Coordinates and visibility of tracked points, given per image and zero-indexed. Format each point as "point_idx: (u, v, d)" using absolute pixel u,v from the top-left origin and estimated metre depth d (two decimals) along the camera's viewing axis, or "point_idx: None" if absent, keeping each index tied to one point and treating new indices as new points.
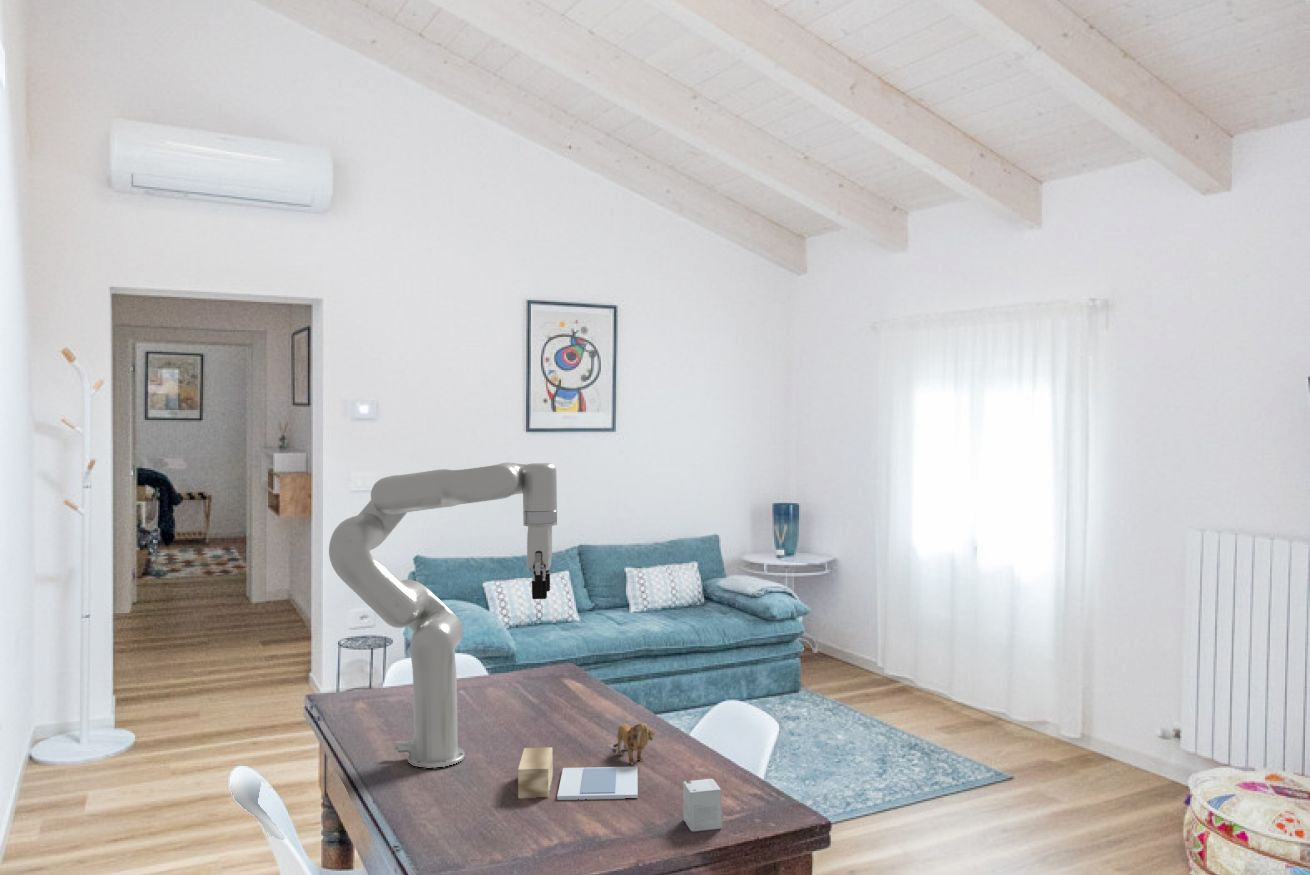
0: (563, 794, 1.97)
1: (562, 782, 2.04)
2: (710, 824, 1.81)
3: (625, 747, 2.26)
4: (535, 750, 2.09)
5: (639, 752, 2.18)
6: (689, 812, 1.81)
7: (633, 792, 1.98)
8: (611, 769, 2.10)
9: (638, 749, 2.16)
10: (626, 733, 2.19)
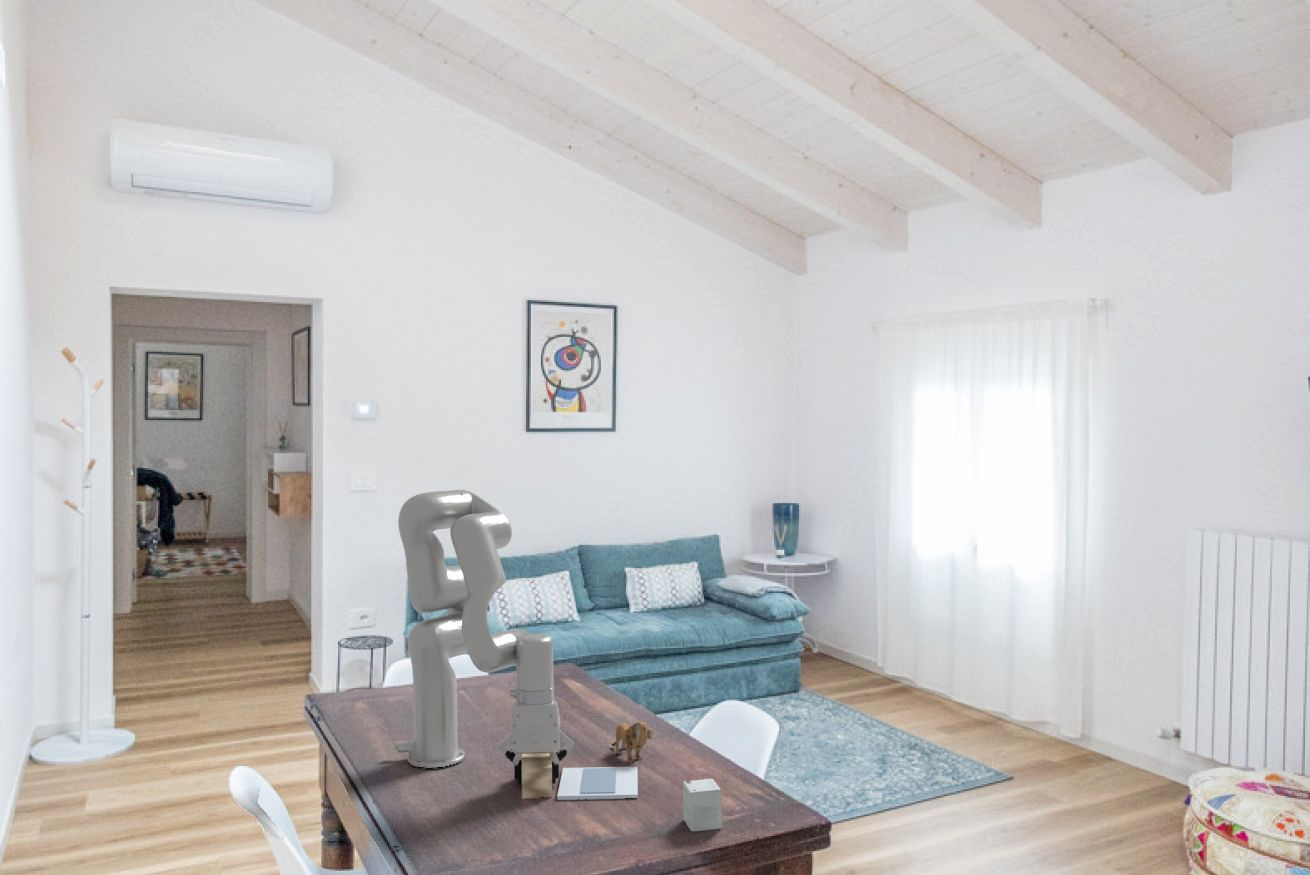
0: (563, 794, 1.97)
1: (562, 782, 2.04)
2: (710, 824, 1.81)
3: (623, 746, 2.27)
4: None
5: (638, 751, 2.19)
6: (689, 812, 1.81)
7: (633, 792, 1.98)
8: (611, 769, 2.10)
9: (637, 748, 2.17)
10: (625, 732, 2.20)
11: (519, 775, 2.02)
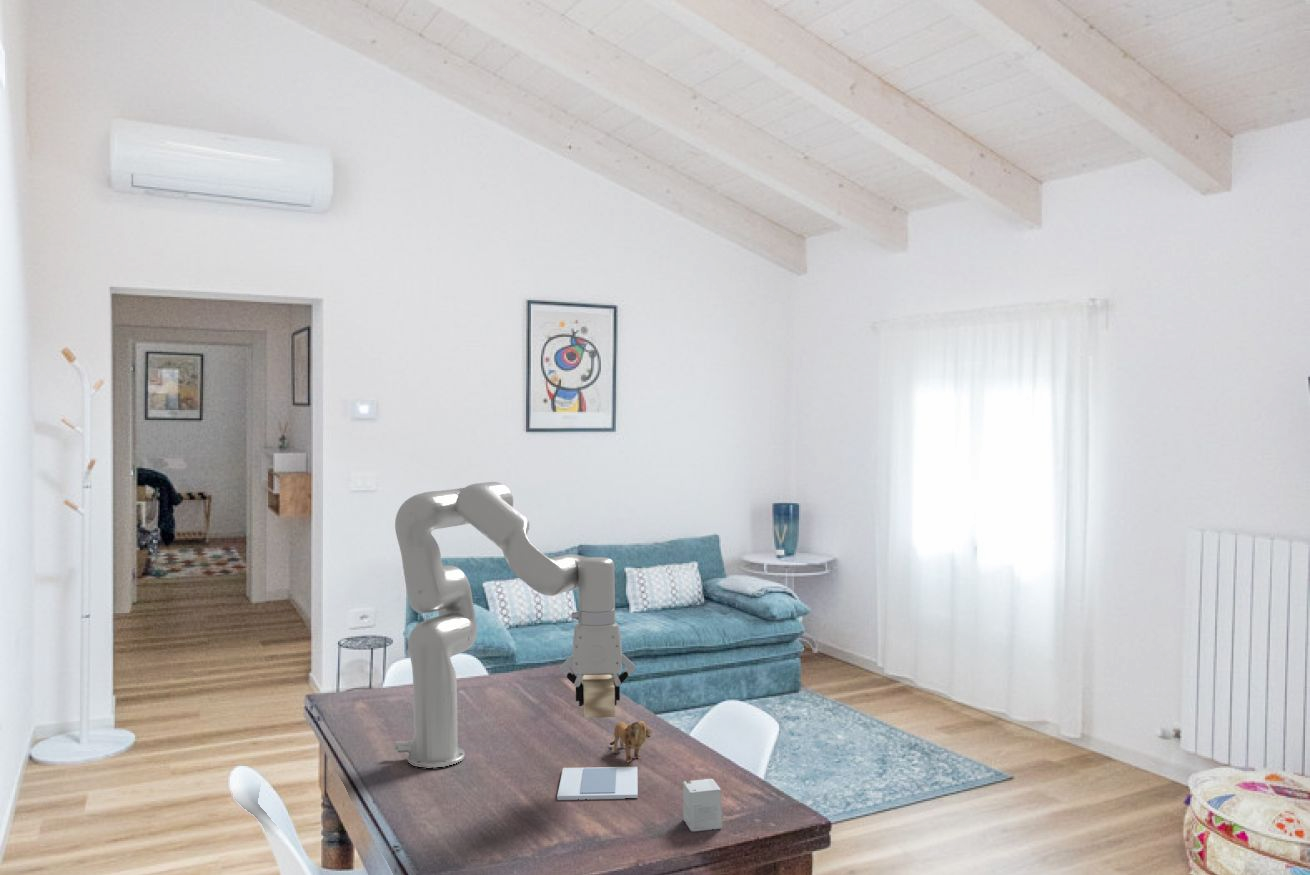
0: (563, 794, 1.97)
1: (562, 782, 2.04)
2: (710, 824, 1.81)
3: (621, 745, 2.27)
4: None
5: (636, 750, 2.20)
6: (689, 812, 1.81)
7: (633, 792, 1.98)
8: (611, 769, 2.10)
9: (636, 747, 2.17)
10: (623, 731, 2.21)
11: (581, 697, 2.02)
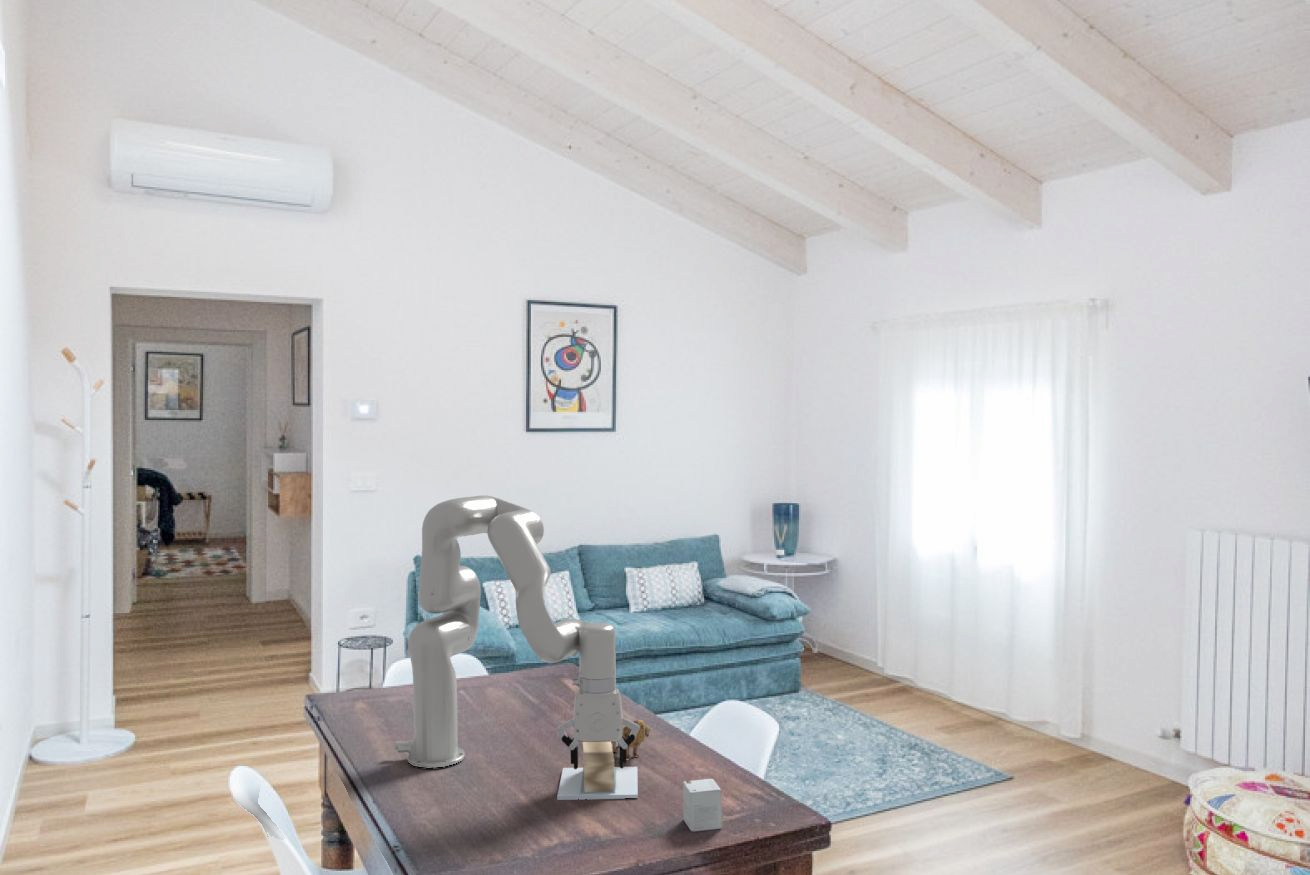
0: (563, 794, 1.97)
1: (562, 782, 2.04)
2: (710, 824, 1.81)
3: None
4: (594, 743, 2.09)
5: (635, 748, 2.21)
6: (689, 812, 1.81)
7: (633, 792, 1.98)
8: None
9: (635, 745, 2.18)
10: None
11: (575, 760, 2.03)
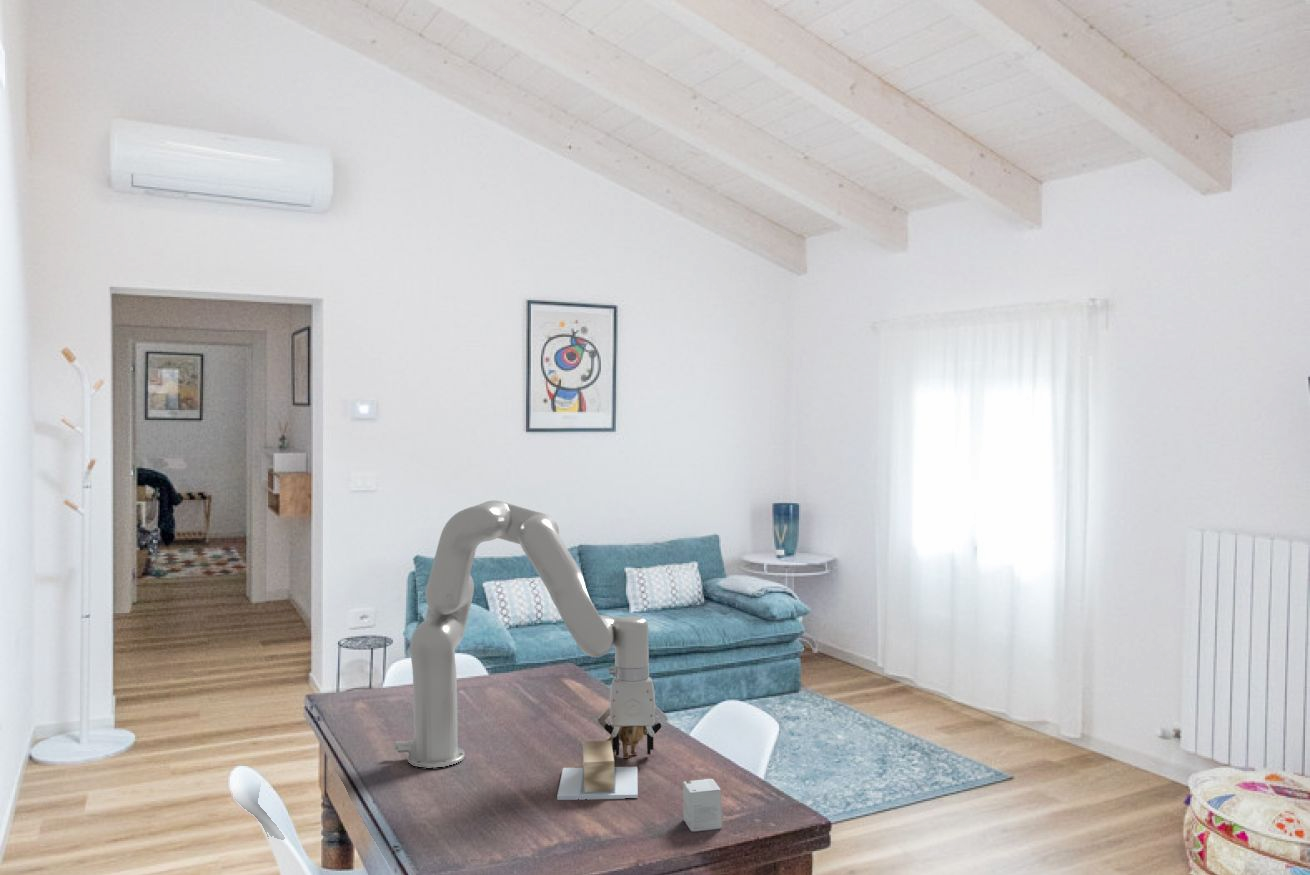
0: (563, 794, 1.97)
1: (562, 782, 2.04)
2: (710, 824, 1.81)
3: None
4: (594, 743, 2.09)
5: (633, 747, 2.22)
6: (689, 812, 1.81)
7: (633, 792, 1.98)
8: None
9: (633, 744, 2.19)
10: (620, 728, 2.23)
11: (617, 746, 2.19)
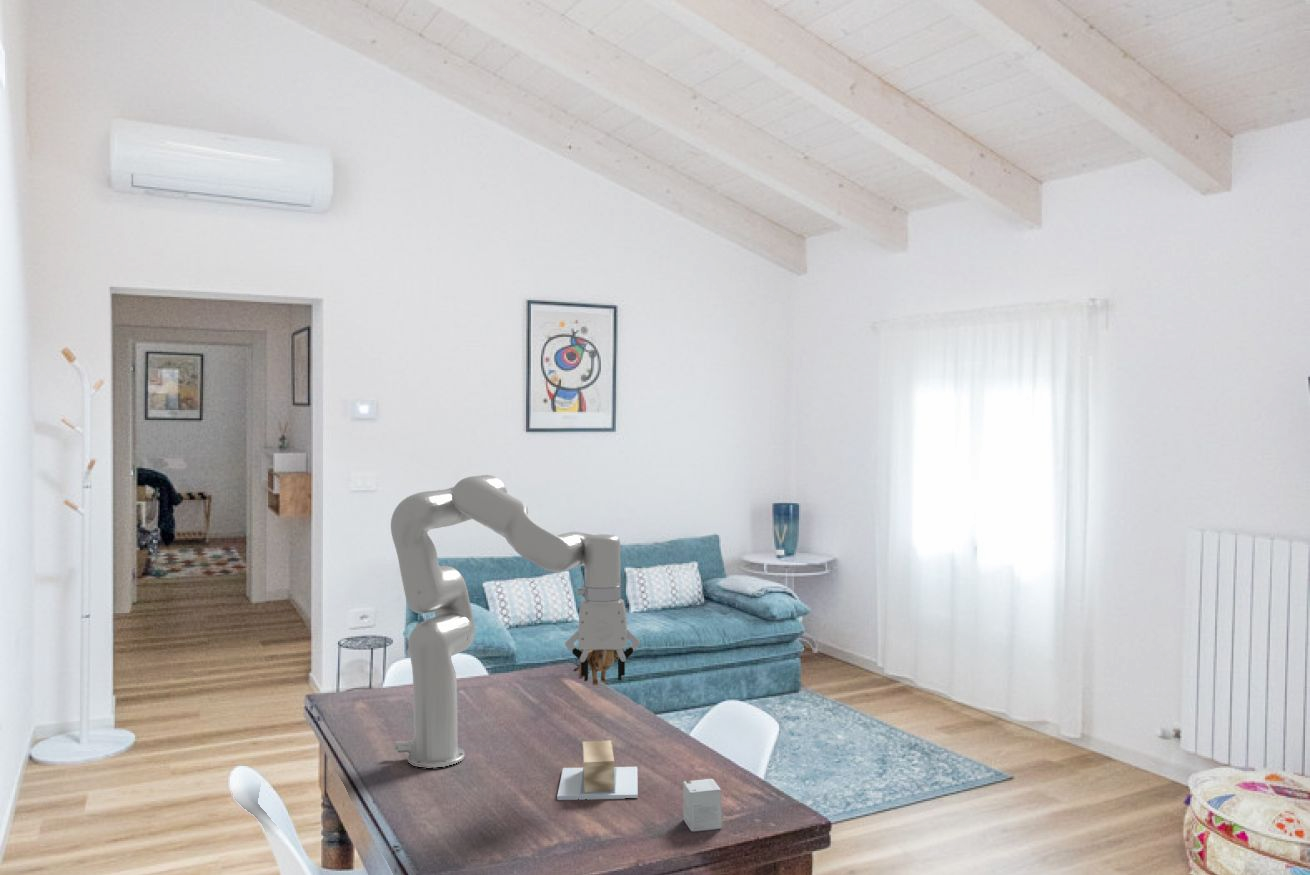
0: (563, 794, 1.97)
1: (562, 782, 2.04)
2: (710, 824, 1.81)
3: None
4: (594, 743, 2.09)
5: (603, 673, 2.08)
6: (689, 812, 1.81)
7: (633, 792, 1.98)
8: None
9: (603, 669, 2.05)
10: (589, 654, 2.09)
11: (586, 672, 2.05)
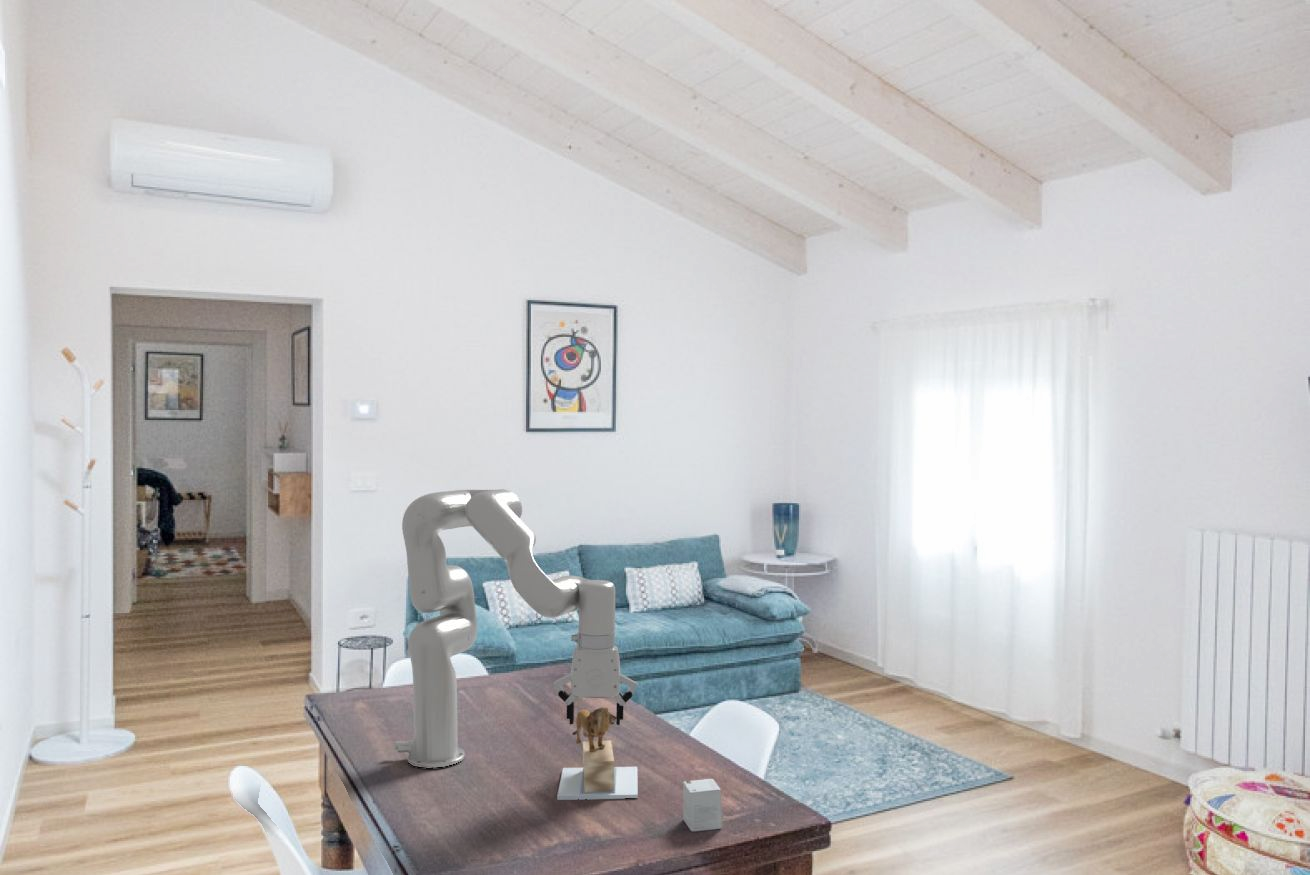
0: (563, 794, 1.97)
1: (562, 782, 2.04)
2: (710, 824, 1.81)
3: (585, 734, 2.13)
4: (594, 743, 2.09)
5: (600, 738, 2.06)
6: (689, 812, 1.81)
7: (633, 792, 1.98)
8: None
9: (599, 735, 2.03)
10: (585, 719, 2.06)
11: (571, 715, 2.03)
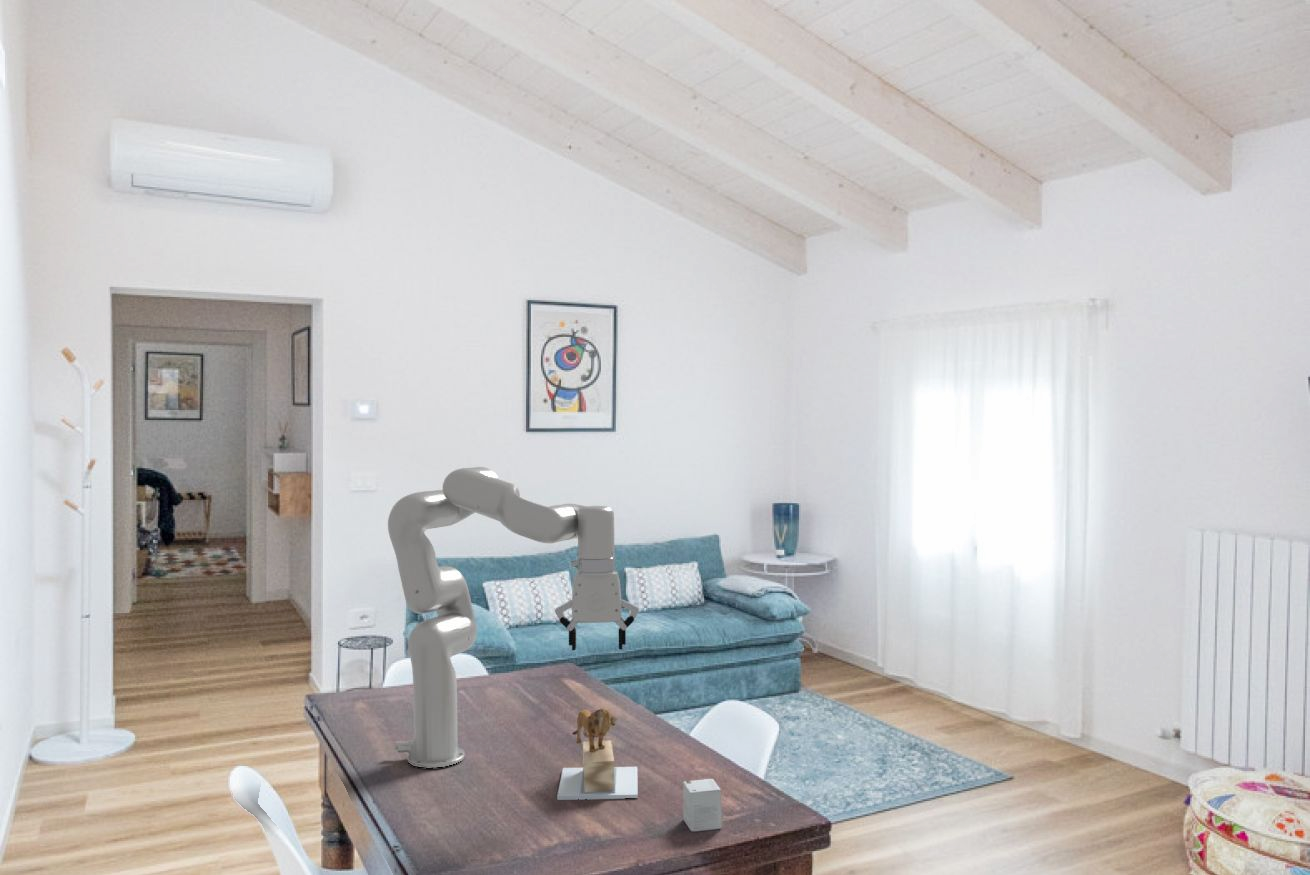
0: (563, 794, 1.97)
1: (562, 782, 2.04)
2: (710, 824, 1.81)
3: (585, 734, 2.13)
4: (594, 743, 2.09)
5: (600, 739, 2.06)
6: (689, 812, 1.81)
7: (633, 792, 1.98)
8: None
9: (600, 735, 2.03)
10: (586, 719, 2.06)
11: (574, 641, 2.02)
